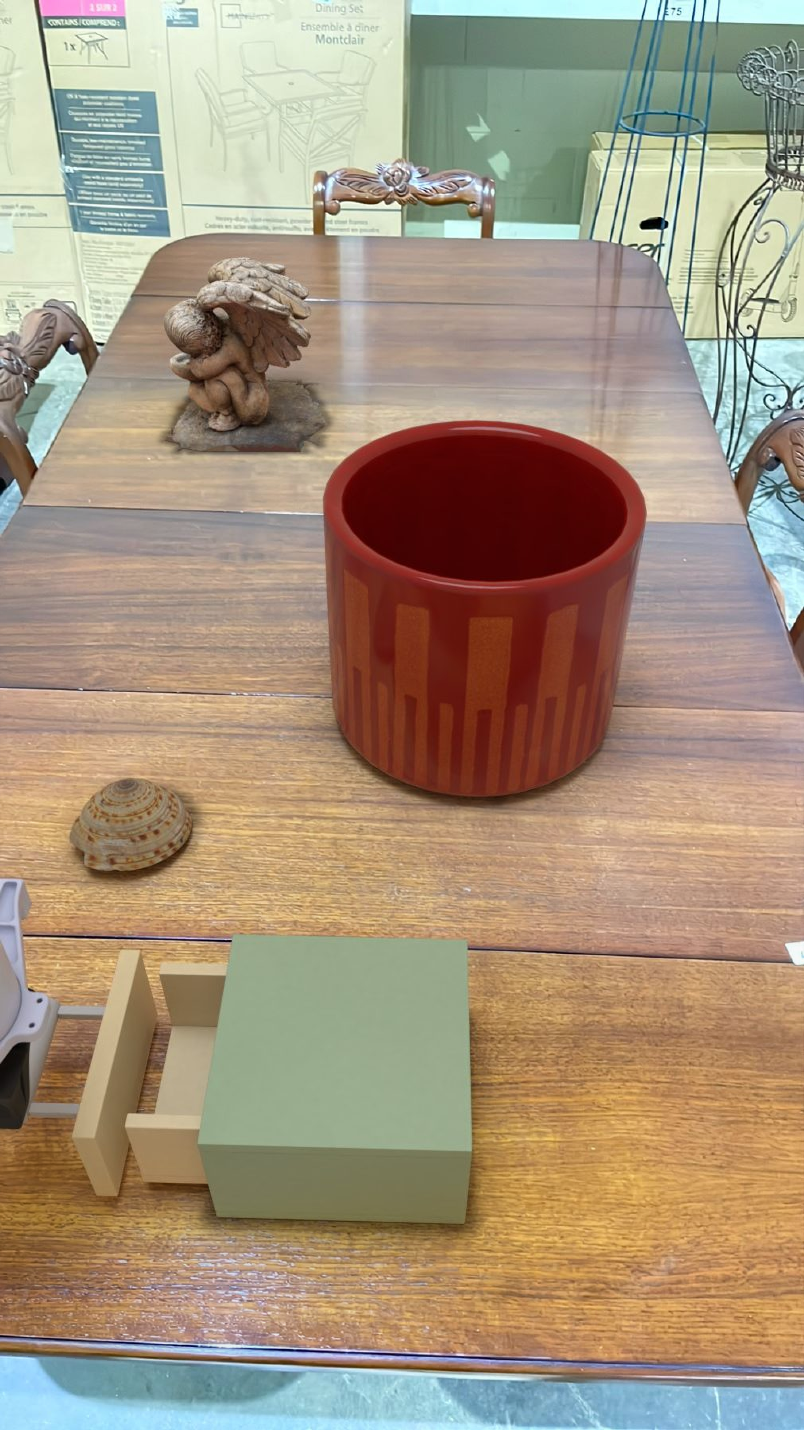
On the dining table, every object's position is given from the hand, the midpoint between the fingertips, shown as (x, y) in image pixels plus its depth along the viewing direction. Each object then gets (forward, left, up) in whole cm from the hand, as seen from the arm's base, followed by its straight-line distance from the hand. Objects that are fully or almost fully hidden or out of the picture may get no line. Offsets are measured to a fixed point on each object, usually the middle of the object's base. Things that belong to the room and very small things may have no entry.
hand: (4, 1115), depth 52 cm
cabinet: (+16, +6, -10) cm, 20 cm away
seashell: (-1, +27, -11) cm, 29 cm away
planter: (+24, +42, -11) cm, 50 cm away
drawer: (+6, +6, -10) cm, 13 cm away
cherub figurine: (-1, +93, -11) cm, 94 cm away
